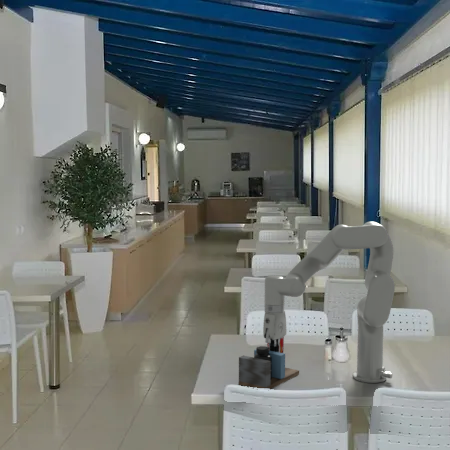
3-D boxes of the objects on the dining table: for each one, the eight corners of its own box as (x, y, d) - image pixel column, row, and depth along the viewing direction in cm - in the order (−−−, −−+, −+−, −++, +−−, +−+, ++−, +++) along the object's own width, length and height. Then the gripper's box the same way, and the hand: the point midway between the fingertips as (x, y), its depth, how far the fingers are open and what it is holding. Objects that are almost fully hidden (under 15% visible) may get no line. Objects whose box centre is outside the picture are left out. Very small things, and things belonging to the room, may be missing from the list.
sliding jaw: (285, 377, 252) (285, 353, 251) (280, 379, 249) (281, 355, 249) (258, 371, 259) (258, 348, 258) (254, 373, 256) (254, 350, 256)
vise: (299, 374, 261) (299, 347, 260) (266, 391, 241) (266, 363, 240) (273, 368, 268) (273, 342, 267) (238, 384, 248) (238, 357, 247)
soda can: (282, 356, 284) (282, 329, 283) (266, 355, 285) (266, 328, 284) (284, 352, 291) (284, 325, 290) (268, 351, 292) (268, 324, 291)
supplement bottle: (263, 383, 245) (264, 351, 244) (249, 379, 250) (249, 348, 249) (275, 379, 250) (275, 347, 249) (261, 375, 255) (261, 344, 254)
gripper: (272, 313, 246) (272, 361, 248) (293, 306, 258) (292, 352, 260) (255, 310, 251) (255, 358, 253) (276, 303, 263) (276, 349, 265)
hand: (274, 355), depth 256 cm, fingers closed
